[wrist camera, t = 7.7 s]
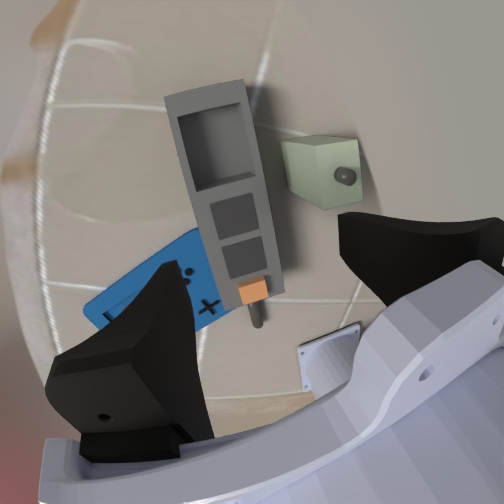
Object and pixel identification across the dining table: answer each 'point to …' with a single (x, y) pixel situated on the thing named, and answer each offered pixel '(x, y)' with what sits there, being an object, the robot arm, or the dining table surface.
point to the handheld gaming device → (128, 287)
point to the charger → (323, 170)
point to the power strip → (228, 192)
